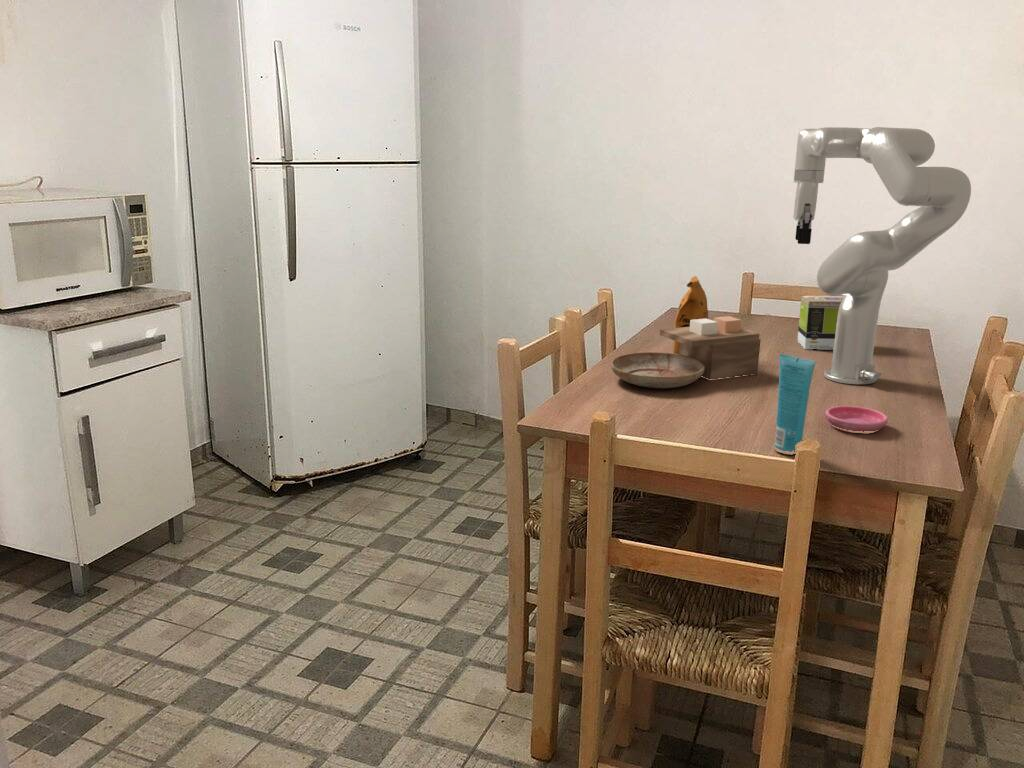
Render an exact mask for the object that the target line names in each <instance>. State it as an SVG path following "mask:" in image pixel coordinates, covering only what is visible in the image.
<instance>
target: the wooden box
mask: <svg viewBox="0 0 1024 768" xmlns="http://www.w3.org/2000/svg"><path fill="white" fill-rule="evenodd" d="M689 330H690V327H681V328H674V327H672V328H661V329H659V336H661V337H663V338H667V339H670V340H672V341H673V342H674V341H677V342H680V347H679V354H680V355H685V356H688V357H691V358H694V359H696V360H698V361H700V362H701V363H702V364H703V365H704V366H705V370H704V373H703V375H702V376H703V377H705V378H708V379H718V378H726V377H735V376H743V375H751V374H757V375H758V370H759V361H760V352H761V351H760V350H761V349H760V348H761V339H760V335H761V334H760V333H758V332H754V331H752V330H749V329H745V328H742V327H741V331H737V332H727V333H724V332H721V331H718V330H717V334H708V335H699V334H696V333H693V332H690V331H689Z"/></svg>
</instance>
